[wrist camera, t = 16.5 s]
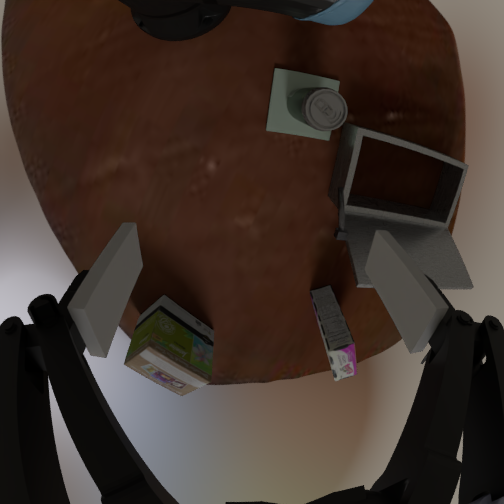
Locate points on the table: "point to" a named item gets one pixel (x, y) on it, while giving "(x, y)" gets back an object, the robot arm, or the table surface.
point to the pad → (278, 102)
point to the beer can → (318, 107)
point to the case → (399, 215)
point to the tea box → (172, 348)
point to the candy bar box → (334, 333)
